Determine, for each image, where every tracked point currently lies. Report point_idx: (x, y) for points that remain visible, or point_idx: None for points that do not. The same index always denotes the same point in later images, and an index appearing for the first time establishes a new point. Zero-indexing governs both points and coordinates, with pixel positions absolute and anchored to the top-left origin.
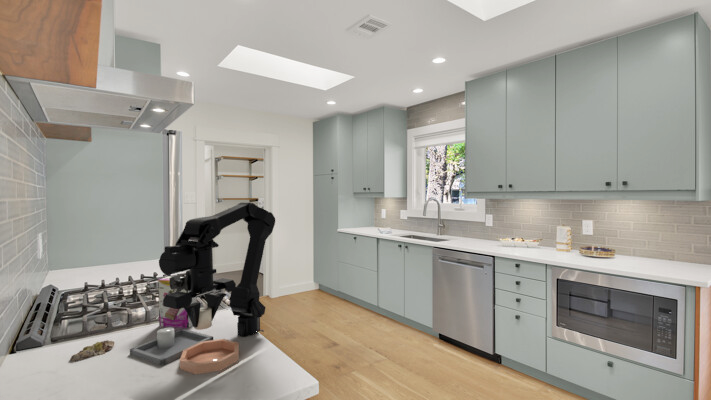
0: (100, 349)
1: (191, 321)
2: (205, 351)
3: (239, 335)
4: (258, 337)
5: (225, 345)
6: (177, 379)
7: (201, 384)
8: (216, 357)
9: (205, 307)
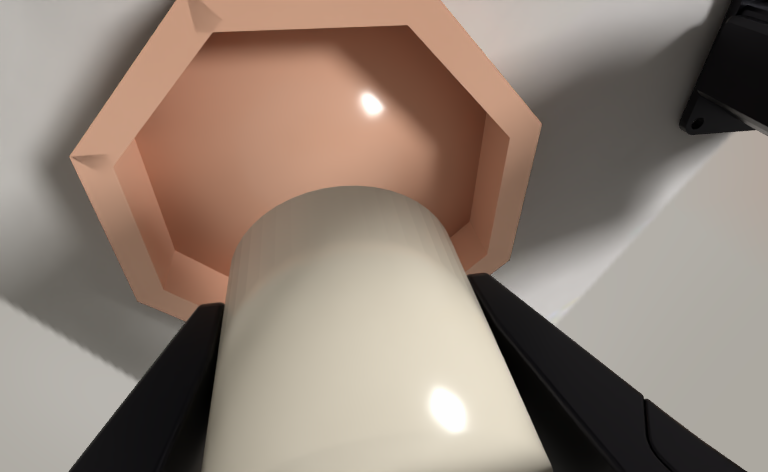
0: None
1: (148, 383)
2: (388, 40)
3: (718, 46)
4: (718, 144)
5: (491, 154)
6: (52, 187)
7: (147, 317)
8: None
9: (536, 461)
